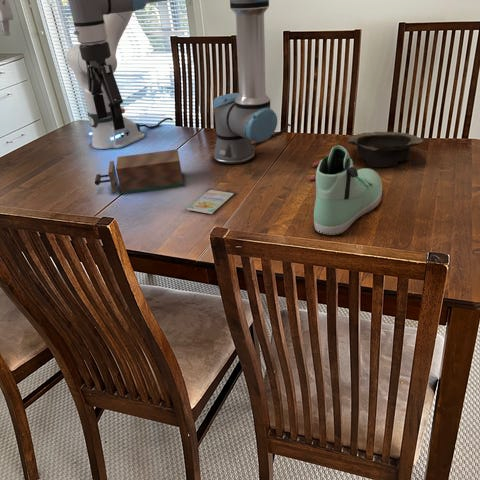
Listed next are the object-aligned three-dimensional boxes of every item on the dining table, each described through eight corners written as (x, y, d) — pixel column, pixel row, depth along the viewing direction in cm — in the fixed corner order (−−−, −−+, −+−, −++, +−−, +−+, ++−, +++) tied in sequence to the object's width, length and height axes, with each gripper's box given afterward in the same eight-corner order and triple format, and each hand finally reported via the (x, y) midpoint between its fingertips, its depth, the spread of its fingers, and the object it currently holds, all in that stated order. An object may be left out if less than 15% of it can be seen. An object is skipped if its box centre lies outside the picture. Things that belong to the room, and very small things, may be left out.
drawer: (96, 194, 157) (91, 174, 154) (98, 182, 165) (93, 163, 162) (170, 184, 160) (167, 164, 156) (169, 173, 168) (166, 154, 164)
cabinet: (121, 194, 158) (115, 168, 153) (122, 181, 167) (117, 156, 163) (183, 186, 160) (179, 160, 156) (181, 173, 170) (177, 149, 165)
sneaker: (389, 187, 148) (396, 123, 138) (356, 242, 123) (361, 168, 112) (346, 181, 154) (350, 119, 144) (306, 232, 129) (307, 161, 118)
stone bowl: (380, 178, 154) (381, 150, 149) (333, 160, 174) (332, 135, 170) (437, 159, 162) (439, 132, 158) (385, 144, 183) (386, 120, 178)
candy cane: (296, 178, 159) (296, 174, 158) (317, 162, 169) (317, 158, 168) (312, 182, 156) (312, 178, 155) (333, 165, 166) (333, 161, 165)
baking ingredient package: (185, 208, 144) (210, 188, 156) (186, 209, 145) (210, 190, 156) (211, 213, 141) (234, 192, 152) (211, 214, 141) (234, 193, 152)
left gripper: (10, -14, 148) (24, 34, 155) (-16, -13, 161) (-2, 31, 168) (-11, -11, 144) (4, 38, 151) (-35, -11, 157) (-20, 34, 164)
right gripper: (65, 40, 130) (84, 116, 142) (95, 50, 112) (114, 137, 123) (92, 35, 134) (108, 111, 145) (125, 45, 115) (141, 130, 127)
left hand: (1, 34), depth 160 cm, fingers open, 8 cm apart
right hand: (111, 123), depth 134 cm, fingers open, 13 cm apart
